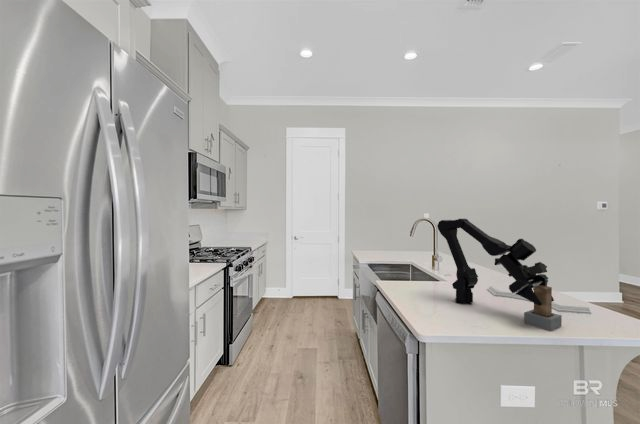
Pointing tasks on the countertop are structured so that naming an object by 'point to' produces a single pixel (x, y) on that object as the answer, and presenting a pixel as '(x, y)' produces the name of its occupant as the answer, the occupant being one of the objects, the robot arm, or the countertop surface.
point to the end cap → (543, 320)
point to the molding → (512, 295)
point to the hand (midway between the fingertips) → (547, 303)
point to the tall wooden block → (543, 301)
